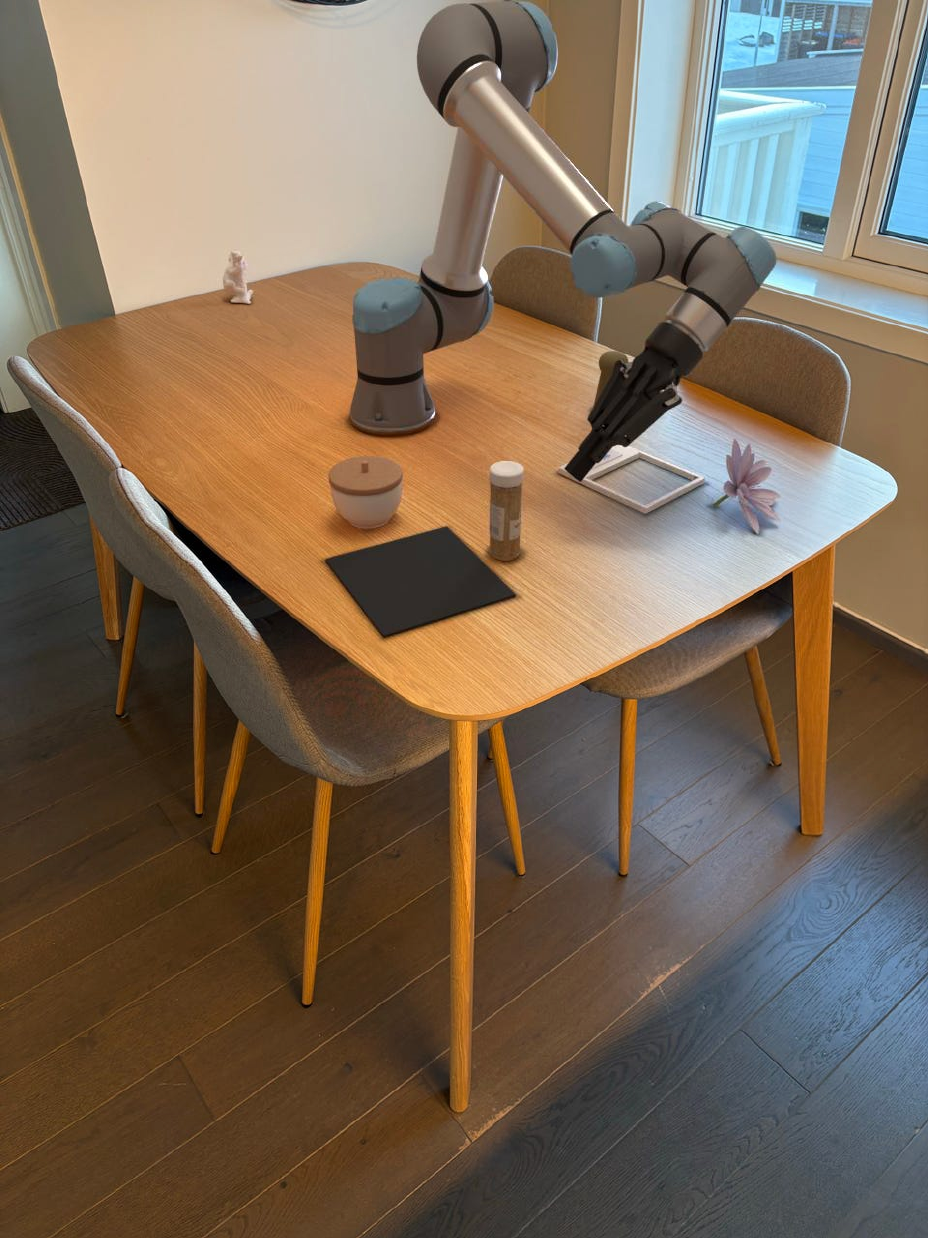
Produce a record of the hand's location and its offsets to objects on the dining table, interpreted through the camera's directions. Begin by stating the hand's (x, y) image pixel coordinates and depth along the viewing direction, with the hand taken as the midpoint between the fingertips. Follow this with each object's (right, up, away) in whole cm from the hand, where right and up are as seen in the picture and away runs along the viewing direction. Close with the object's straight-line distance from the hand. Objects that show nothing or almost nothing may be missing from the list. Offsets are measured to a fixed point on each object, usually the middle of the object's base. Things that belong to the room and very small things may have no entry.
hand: (572, 475), depth 130 cm
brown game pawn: (+11, +18, +41) cm, 46 cm away
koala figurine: (-68, +56, +94) cm, 129 cm away
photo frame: (+12, +3, +20) cm, 23 cm away
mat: (-21, -14, -3) cm, 26 cm away
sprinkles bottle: (-9, -11, +2) cm, 15 cm away
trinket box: (-29, -5, +10) cm, 31 cm away
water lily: (+27, -5, +10) cm, 29 cm away
